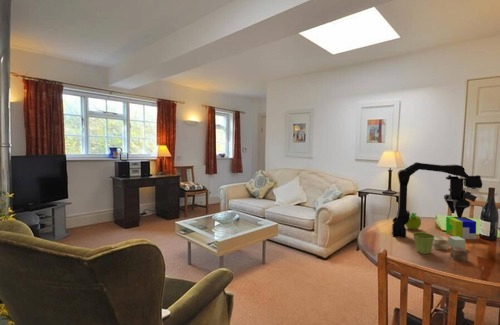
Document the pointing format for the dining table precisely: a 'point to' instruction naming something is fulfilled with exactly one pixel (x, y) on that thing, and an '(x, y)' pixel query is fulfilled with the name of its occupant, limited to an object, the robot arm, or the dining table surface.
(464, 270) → the dining table surface
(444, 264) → the dining table surface
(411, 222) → the fruit
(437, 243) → the oak block
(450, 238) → the sage block
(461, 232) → the puzzle toy
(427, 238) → the plant pot
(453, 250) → the walnut block
